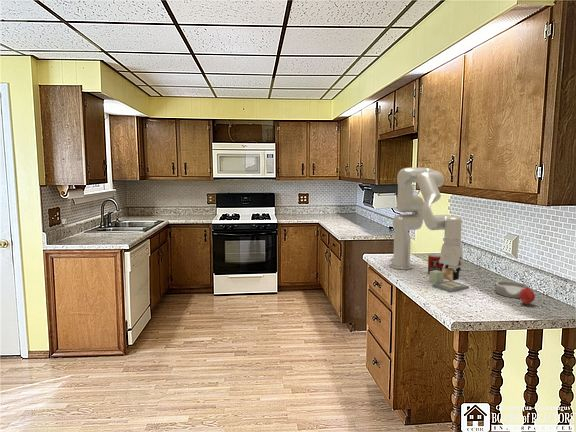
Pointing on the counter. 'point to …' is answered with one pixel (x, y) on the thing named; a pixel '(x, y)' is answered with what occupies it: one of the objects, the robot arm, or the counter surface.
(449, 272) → the oak block
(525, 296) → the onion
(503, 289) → the dish
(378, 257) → the counter surface
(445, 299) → the counter surface
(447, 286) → the build board
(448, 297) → the counter surface
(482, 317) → the counter surface
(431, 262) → the canned food
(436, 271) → the sage block
